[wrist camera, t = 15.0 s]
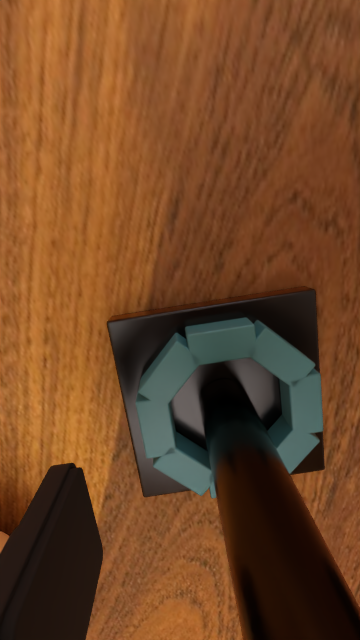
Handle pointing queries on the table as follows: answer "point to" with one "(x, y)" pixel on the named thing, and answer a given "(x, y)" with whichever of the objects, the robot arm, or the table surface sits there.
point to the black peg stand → (246, 464)
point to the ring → (218, 346)
